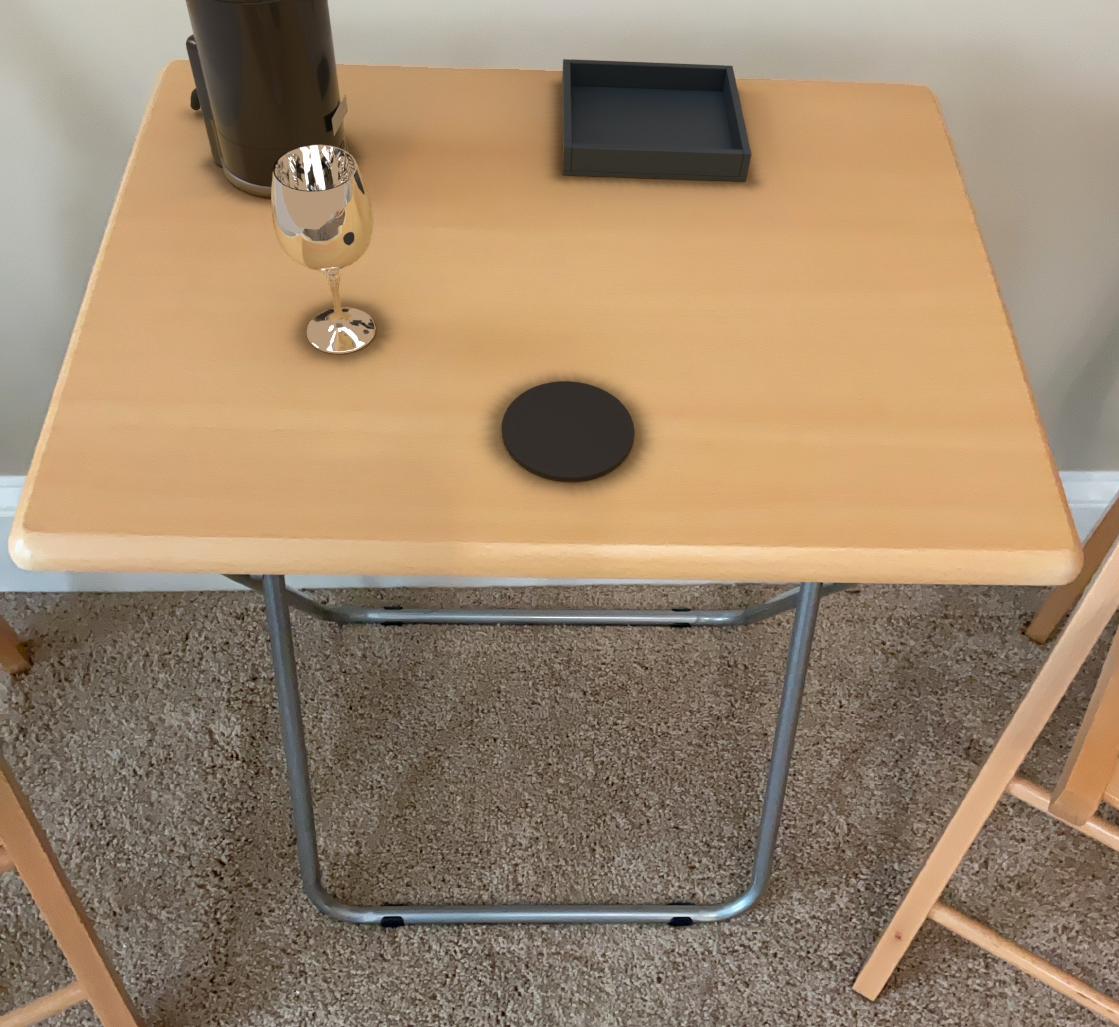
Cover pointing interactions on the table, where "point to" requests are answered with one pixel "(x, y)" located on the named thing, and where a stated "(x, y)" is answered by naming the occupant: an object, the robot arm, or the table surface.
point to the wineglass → (325, 232)
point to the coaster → (567, 431)
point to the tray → (652, 121)
